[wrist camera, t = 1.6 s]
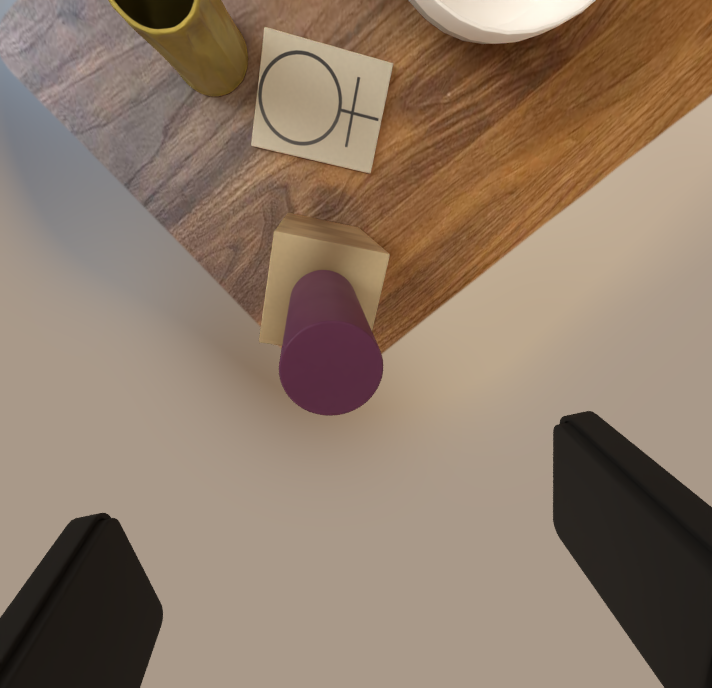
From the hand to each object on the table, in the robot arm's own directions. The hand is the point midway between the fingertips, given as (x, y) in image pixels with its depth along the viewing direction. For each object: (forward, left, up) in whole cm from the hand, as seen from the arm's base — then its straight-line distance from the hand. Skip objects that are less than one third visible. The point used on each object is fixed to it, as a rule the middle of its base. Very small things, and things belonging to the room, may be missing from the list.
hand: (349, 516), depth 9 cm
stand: (0, 0, -35) cm, 35 cm away
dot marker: (0, 0, -18) cm, 18 cm away
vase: (-12, +15, -35) cm, 40 cm away
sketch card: (-2, +13, -35) cm, 37 cm away
